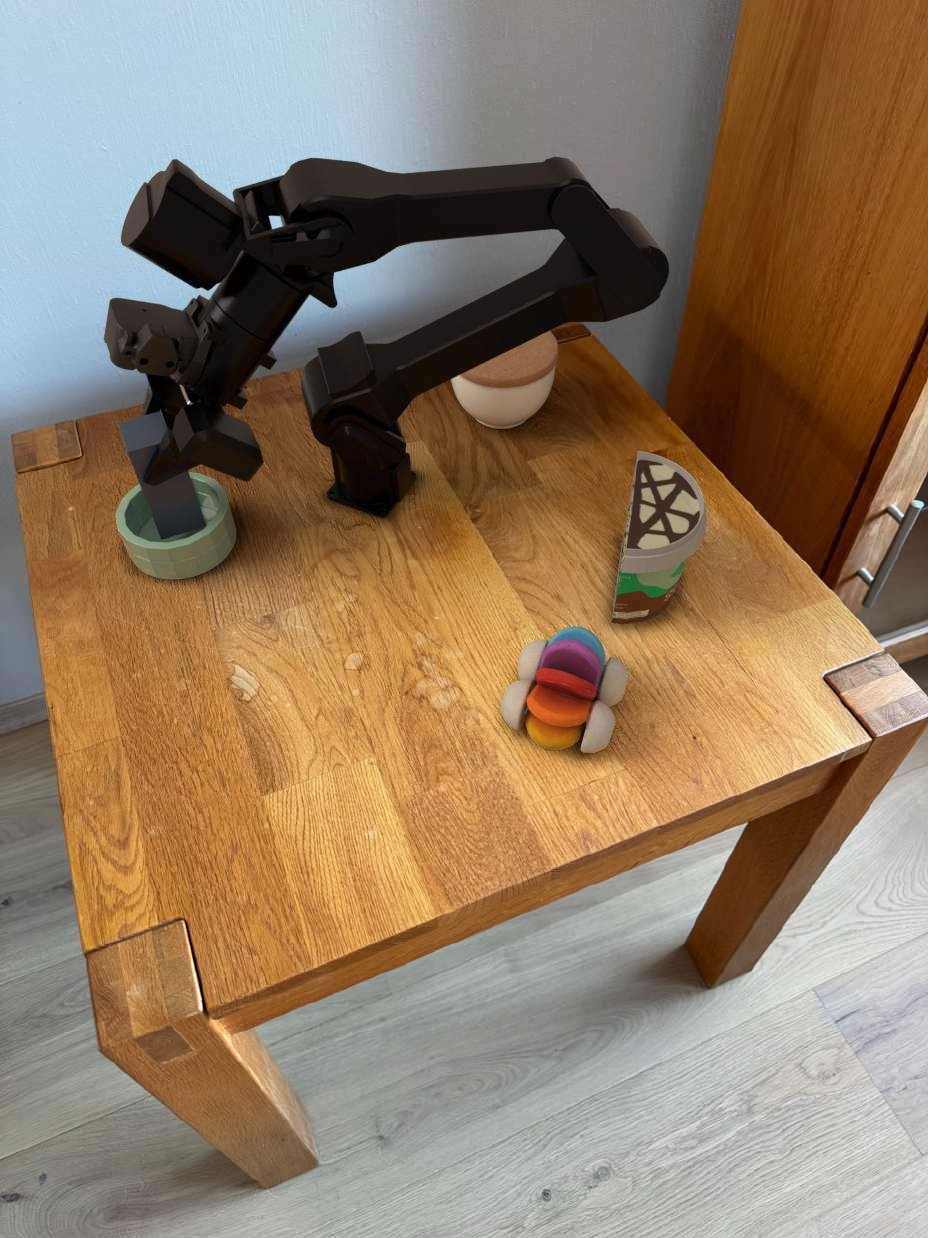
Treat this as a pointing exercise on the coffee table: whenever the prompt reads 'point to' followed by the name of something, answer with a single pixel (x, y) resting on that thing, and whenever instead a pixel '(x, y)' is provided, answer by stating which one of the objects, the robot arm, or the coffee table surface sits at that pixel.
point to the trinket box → (509, 384)
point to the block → (170, 498)
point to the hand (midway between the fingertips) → (142, 466)
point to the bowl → (184, 550)
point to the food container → (657, 537)
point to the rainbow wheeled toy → (565, 691)
